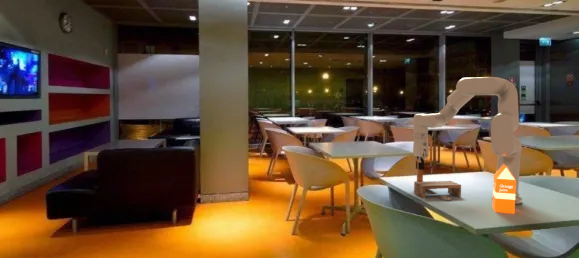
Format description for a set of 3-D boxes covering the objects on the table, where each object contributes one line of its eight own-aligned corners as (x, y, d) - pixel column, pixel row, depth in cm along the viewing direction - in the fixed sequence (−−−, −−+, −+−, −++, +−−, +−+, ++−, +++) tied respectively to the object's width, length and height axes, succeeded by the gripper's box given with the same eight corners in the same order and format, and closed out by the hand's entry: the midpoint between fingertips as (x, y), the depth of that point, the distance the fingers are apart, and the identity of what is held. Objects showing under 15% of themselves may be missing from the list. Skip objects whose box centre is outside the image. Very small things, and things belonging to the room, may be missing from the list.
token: (453, 201, 195) (453, 198, 195) (443, 201, 195) (443, 198, 195) (448, 198, 200) (448, 195, 200) (438, 198, 200) (438, 195, 200)
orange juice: (511, 208, 182) (513, 164, 180) (514, 213, 173) (517, 167, 172) (491, 206, 184) (493, 163, 183) (494, 211, 176) (496, 166, 175)
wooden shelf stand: (460, 196, 203) (461, 184, 202) (423, 198, 200) (423, 186, 199) (450, 192, 213) (450, 180, 212) (414, 193, 210) (414, 181, 209)
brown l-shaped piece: (436, 188, 212) (436, 162, 211) (427, 189, 212) (427, 162, 211) (422, 183, 227) (423, 158, 226) (414, 183, 226) (414, 158, 225)
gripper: (434, 137, 216) (433, 171, 218) (420, 134, 232) (419, 166, 234) (420, 137, 215) (420, 171, 217) (407, 135, 231) (407, 167, 232)
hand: (420, 168), depth 225 cm, fingers closed on brown l-shaped piece
